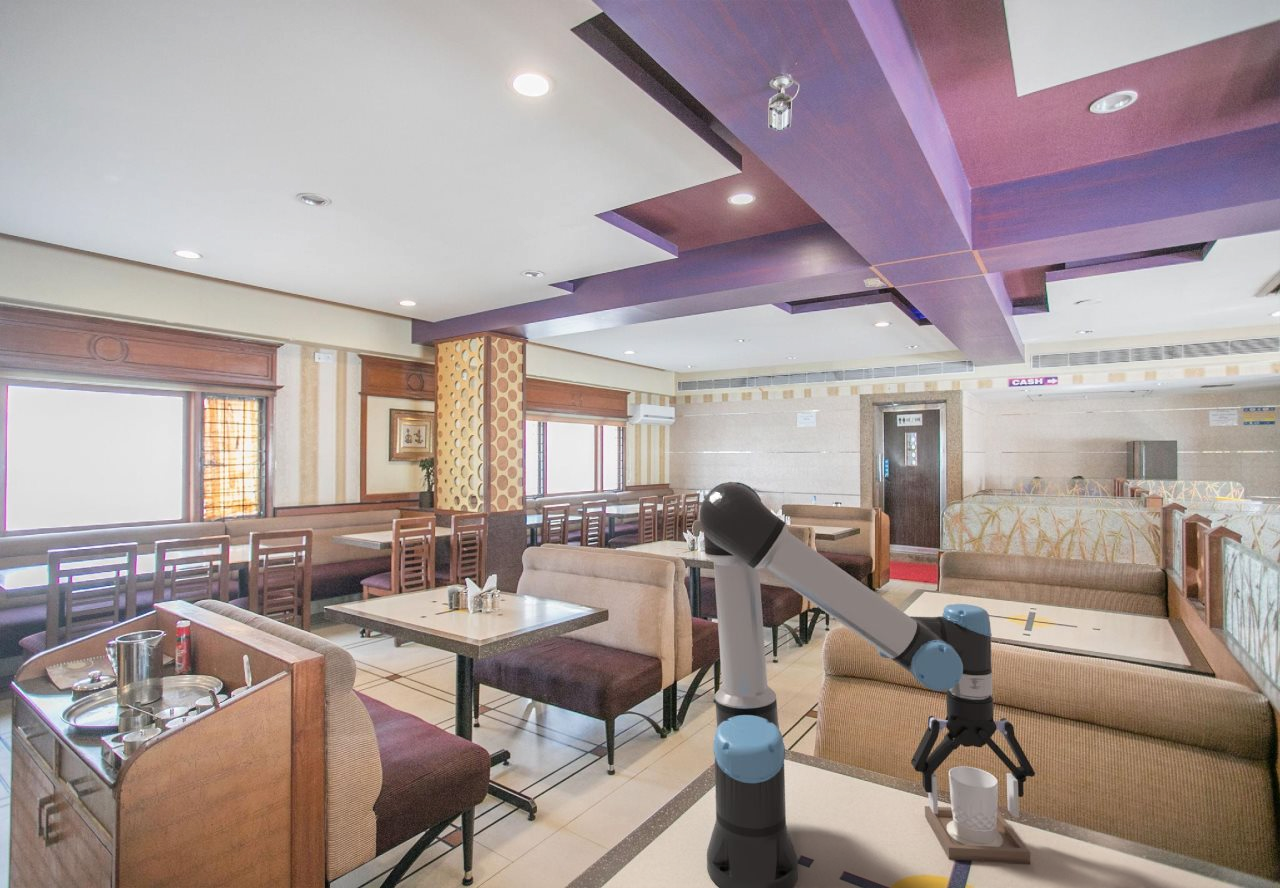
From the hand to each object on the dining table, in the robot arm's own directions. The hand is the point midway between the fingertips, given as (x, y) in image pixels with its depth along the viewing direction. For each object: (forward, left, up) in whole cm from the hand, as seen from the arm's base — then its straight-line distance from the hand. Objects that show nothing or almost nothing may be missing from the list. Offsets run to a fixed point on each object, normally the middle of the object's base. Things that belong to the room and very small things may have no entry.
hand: (973, 811), depth 114 cm
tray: (0, 0, -5) cm, 5 cm away
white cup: (0, 0, -4) cm, 4 cm away
